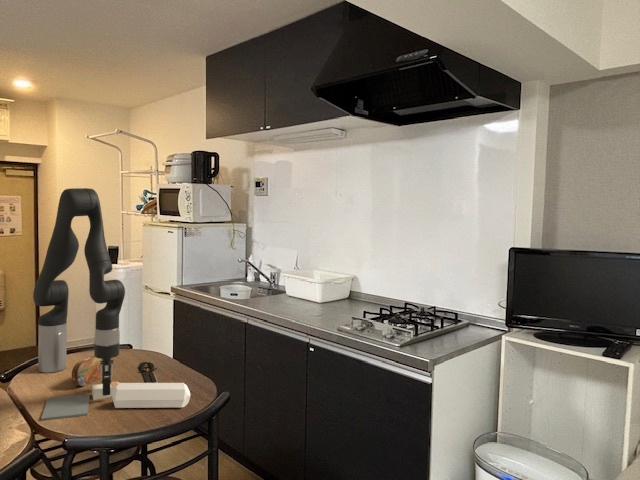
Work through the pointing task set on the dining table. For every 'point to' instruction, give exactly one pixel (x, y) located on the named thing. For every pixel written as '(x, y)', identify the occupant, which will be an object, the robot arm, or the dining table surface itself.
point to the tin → (86, 371)
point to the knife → (145, 373)
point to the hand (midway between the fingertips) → (106, 390)
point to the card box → (98, 390)
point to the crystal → (150, 395)
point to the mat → (66, 407)
